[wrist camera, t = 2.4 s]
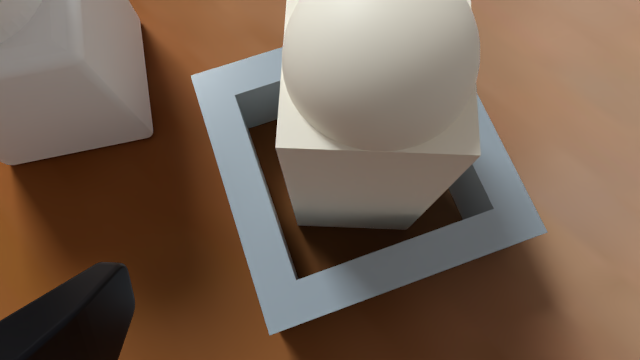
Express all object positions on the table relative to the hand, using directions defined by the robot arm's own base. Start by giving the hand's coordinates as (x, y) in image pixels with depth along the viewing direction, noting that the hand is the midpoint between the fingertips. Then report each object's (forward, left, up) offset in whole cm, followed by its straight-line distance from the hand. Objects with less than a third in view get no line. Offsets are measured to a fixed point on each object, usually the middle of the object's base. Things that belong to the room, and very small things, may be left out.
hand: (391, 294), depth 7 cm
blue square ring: (+2, +5, -12) cm, 14 cm away
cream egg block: (+2, +5, -12) cm, 14 cm away
